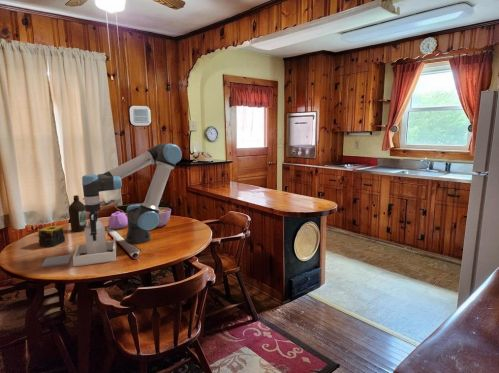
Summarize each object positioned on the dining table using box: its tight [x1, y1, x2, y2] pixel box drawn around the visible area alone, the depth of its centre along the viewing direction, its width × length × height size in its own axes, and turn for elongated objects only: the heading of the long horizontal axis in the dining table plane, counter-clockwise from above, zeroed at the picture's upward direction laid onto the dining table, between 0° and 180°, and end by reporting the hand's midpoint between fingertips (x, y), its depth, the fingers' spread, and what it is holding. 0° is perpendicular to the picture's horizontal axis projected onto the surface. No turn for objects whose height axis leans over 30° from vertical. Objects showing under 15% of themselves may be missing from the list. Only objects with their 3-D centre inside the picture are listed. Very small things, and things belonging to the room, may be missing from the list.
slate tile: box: [40, 254, 72, 269], centre depth 170 cm, size 12×12×1 cm
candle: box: [37, 225, 66, 248], centre depth 197 cm, size 10×10×10 cm
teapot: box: [108, 210, 128, 230], centre depth 231 cm, size 20×13×12 cm, turn 17°
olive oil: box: [68, 194, 88, 233], centre depth 223 cm, size 11×11×25 cm
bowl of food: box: [155, 206, 172, 228], centre depth 236 cm, size 20×20×12 cm
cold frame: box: [72, 236, 117, 267], centre depth 176 cm, size 20×20×7 cm
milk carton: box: [84, 218, 108, 255], centre depth 175 cm, size 7×7×19 cm
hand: (96, 243), depth 176 cm, fingers closed on milk carton, 10 cm apart
